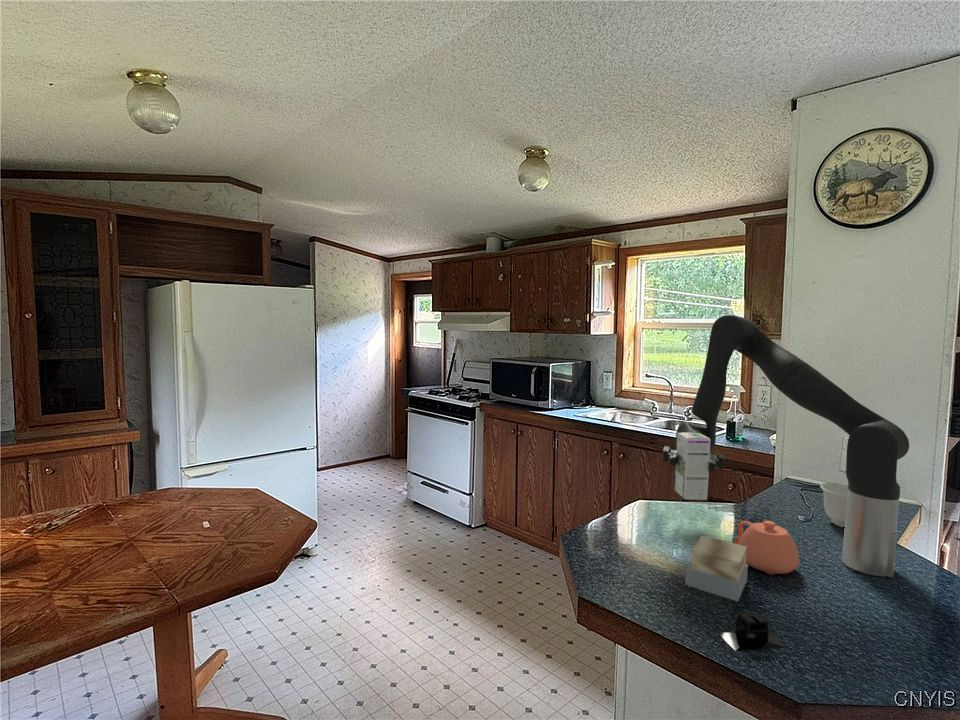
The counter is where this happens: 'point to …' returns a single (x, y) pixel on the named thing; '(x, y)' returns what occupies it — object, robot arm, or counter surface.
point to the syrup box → (692, 466)
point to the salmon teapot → (768, 547)
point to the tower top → (719, 558)
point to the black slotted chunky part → (750, 634)
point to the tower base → (716, 583)
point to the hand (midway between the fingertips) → (692, 464)
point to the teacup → (835, 501)
